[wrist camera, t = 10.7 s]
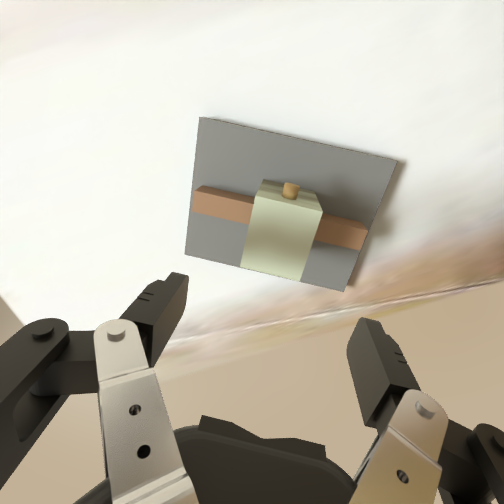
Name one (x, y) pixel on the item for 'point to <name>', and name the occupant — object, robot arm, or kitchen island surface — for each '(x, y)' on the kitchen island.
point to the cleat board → (282, 171)
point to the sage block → (281, 230)
